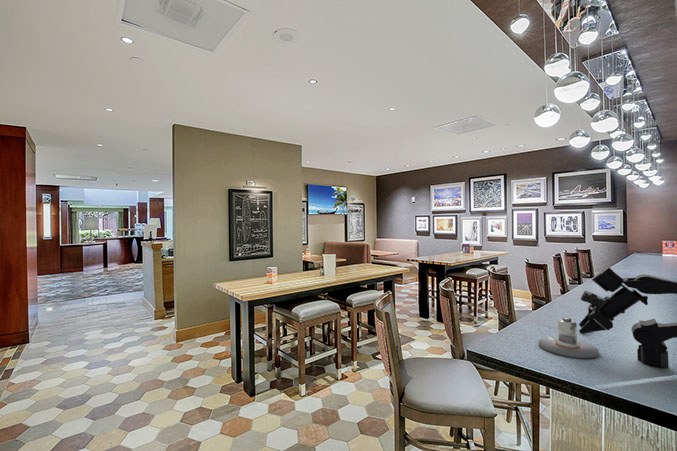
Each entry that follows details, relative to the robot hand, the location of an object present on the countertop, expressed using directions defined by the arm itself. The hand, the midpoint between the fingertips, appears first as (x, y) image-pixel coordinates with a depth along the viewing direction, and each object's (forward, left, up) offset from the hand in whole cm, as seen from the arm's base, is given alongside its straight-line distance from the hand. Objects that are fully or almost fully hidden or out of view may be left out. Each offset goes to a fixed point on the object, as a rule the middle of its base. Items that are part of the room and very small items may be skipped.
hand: (580, 329), depth 114 cm
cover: (+3, +3, -7) cm, 8 cm away
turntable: (+3, +3, -8) cm, 9 cm away
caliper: (+20, -27, -10) cm, 35 cm away
